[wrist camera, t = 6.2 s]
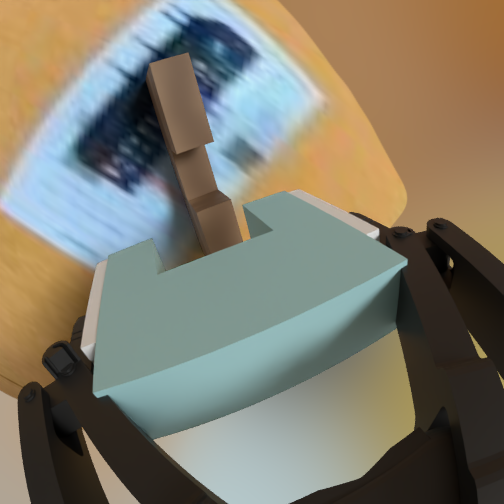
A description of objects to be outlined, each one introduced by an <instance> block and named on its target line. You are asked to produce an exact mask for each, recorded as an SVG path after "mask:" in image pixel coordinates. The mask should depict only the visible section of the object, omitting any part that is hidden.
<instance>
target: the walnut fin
mask: <svg viewBox="0 0 504 504" xmlns="http://www.w3.org/2000/svg"><path fill="white" fill-rule="evenodd" d="M146 82H147V86H148V89H149V92H150V96H151V99H152V102H153V106H154V109H155V112H156V116H157V119H158V122H159V125H160V128H161V132H162V135H163V138H164V141H165V144H166V147H167V150H168V153H169V156H170V159H171V162H172V165H173V168H174V171H175V174H176V177H177V180H178V183H179V186H180V189H181V192H182V195H183V198H184V200H185V203H186V206H187V209H188V212H189V215H190V217H191V220H192V223H193V226H194V229H195V231H196V234H197V237H198V239H199V242H200V245H201V248H202V250H203V253H204V254H205V256H207V255H210V254H212V253H215V252H218V251H220V250H223V249H226V248H228V247H231V246H234V245H236V244H239V243H241V242H243V240H242V236H241V233H240V229H239V226H238V223H237V219H236V216H235V212H234V209H233V205H232V202H231V199H229V198H228V197H227V196H226V195H224V194H223V193H222V192H221V191H219V190H218V188H217V185H216V182H215V178H214V175H213V172H212V169H211V165H210V162H209V159H208V155H207V152H206V148H205V144H208V143H211V142H214V140H213V137H212V133H211V130H210V126H209V123H208V119H207V116H206V112H205V109H204V105H203V102H202V98H201V95H200V91H199V88H198V84H197V81H196V77H195V74H194V70H193V67H192V63H191V60H190V56H189V53H185V54H181V55H177V56H174V57H170V58H167V59H163V60H160V61H157V62H153V63H150V64H149V68H148V72H147V77H146Z"/></svg>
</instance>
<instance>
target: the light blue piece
mask: <svg viewBox="0 0 504 504" xmlns="http://www.w3.org/2000/svg"><path fill="white" fill-rule="evenodd" d="M243 209H244V213H245V217H246V221H247V225H248V229H249V233H250V237H251V239H249V240H247V241H244V242H241V243H239V244H236V245H234V246H231V247H228V248H226V249H223V250H220V251H218V252H215V253H212V254H210V255H207V256H205V257H202V258H199V259H197V260H194V261H191V262H189V263H186V264H184V265H181V266H178V267H176V268H173V269H171V270H168V271H165V269H164V266H163V264H162V261H161V259H160V257H159V254H158V252H157V249H156V247H155V244H154V242H153V239H152V238H151V239H148V240H146V241H143V242H141V243H138V244H136V245H133V246H131V247H128V248H126V249H123V250H121V251H118V252H116V253H113V254H111V255H109V256H108V261H107V266H106V272H105V278H104V284H103V290H102V296H101V303H100V310H99V318H98V327H97V336H96V346H95V359H94V374H93V394H94V395H95V396H96V397H97V398H99V397H102V396H105V395H108V396H109V397H110V398H111V399H112V400H113V401H114V402H115V403H116V404H117V405H118V406H119V407H120V408H121V409H122V410H123V411H124V412H125V413H126V414H127V415H128V416H129V417H130V418H131V419H132V420H133V421H134V422H135V423H136V424H137V425H138V426H139V427H140V428H141V429H142V430H143V431H144V432H145V433H146V434H147V435H148V436H149V437H150V438H151V439H152V440H153V439H157V438H160V437H164V436H167V435H171V434H174V433H177V432H180V431H183V430H187V429H189V428H193V427H196V426H199V425H201V424H204V423H207V422H210V421H213V420H215V419H218V418H221V417H224V416H226V415H229V414H231V413H234V412H237V411H239V410H241V409H244V408H246V407H249V406H251V405H254V404H256V403H258V402H261V401H263V400H265V399H267V398H270V397H272V396H274V395H276V394H279V393H281V392H283V391H285V390H287V389H289V388H291V387H294V386H296V385H297V384H300V383H301V382H304V381H306V380H308V379H310V378H312V377H314V376H316V375H318V374H320V373H321V372H323V371H325V370H327V369H329V368H331V367H333V366H335V365H336V364H338V363H340V362H342V361H344V360H345V359H347V358H349V357H351V356H352V355H354V354H356V353H358V352H359V351H361V350H362V349H364V348H366V347H368V346H369V345H371V344H372V343H374V342H376V341H378V340H379V339H381V338H382V337H384V336H385V335H387V334H388V333H390V332H392V331H393V330H395V329H396V328H397V326H396V315H397V306H398V297H399V287H400V274H401V268H403V267H404V266H406V265H407V261H408V259H407V258H405V257H403V256H402V255H400V254H398V253H397V252H395V251H393V250H392V249H390V248H388V247H387V246H385V245H383V244H382V243H380V242H378V241H376V240H375V239H373V238H371V237H369V236H368V235H366V234H364V233H362V232H361V231H359V230H357V229H355V228H354V227H352V226H350V225H348V224H346V223H345V222H343V221H341V220H339V219H337V218H335V217H334V216H332V215H330V214H328V213H326V212H324V211H322V210H321V209H319V208H317V207H315V206H313V205H311V204H309V203H307V202H305V201H303V200H301V199H300V198H298V197H296V196H294V195H292V194H290V193H288V192H286V191H283V192H280V193H276V194H273V195H270V196H267V197H264V198H261V199H258V200H256V201H253V202H250V203H247V204H244V205H243Z"/></svg>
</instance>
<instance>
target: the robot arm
mask: <svg viewBox="0 0 504 504" xmlns="http://www.w3.org/2000/svg"><path fill="white" fill-rule="evenodd" d="M288 193H290V194H292V195H294V196H296V197H298V198H300V199H301V200H303V201H305V202H307V203H309V204H311V205H313V206H315V207H317V208H319V209H321V210H322V211H324V212H326V213H328V214H330V215H332V216H334V217H335V218H337V219H339V220H341V221H343V222H345V223H346V224H348V225H350V226H352V227H354V228H355V229H357V230H359V231H361V232H362V233H364V234H366V235H368V236H369V237H371V238H373V239H375V240H376V241H378V242H380V243H382V244H383V245H385V246H387V247H388V248H390V249H392V250H393V251H395V252H397V253H398V254H400V255H402V256H403V257H405V258H407V259H408V261H407V265H406V266H404V267H403V268H401V274H400V287H399V297H398V306H397V315H396V326H397V330H398V334H399V337H400V342H401V346H402V350H403V354H404V359H405V363H406V368H407V372H408V377H409V382H410V387H411V392H412V398H413V403H414V409H415V427H414V431H413V432H412V433H411V434H409V435H408V436H407V437H405V438H404V439H402V440H401V441H400V442H398V443H397V444H396V445H394V446H393V447H391V448H390V449H389V450H388V451H387V452H386V453H385V454H384V456H383V457H382V458H381V459H380V460H379V461H378V462H377V463H376V464H375V465H374V466H373V467H372V468H371V469H370V470H369V471H368V472H367V473H366V474H365V475H364V476H363V477H361V478H359V479H357V480H354V481H350V482H347V483H344V484H340V485H337V486H333V487H330V488H326V489H322V490H318V491H316V492H314V493H312V494H310V495H308V496H305V497H303V498H301V499H299V500H296V501H294V502H292V503H290V504H504V388H503V385H502V383H501V380H500V377H499V375H498V372H499V374H500V375H501V377H502V378H503V380H504V264H503V263H502V262H501V261H500V260H498V259H497V258H496V257H495V256H494V255H493V254H491V253H490V252H489V251H488V250H487V249H485V248H484V247H483V246H482V245H480V244H479V243H478V242H477V241H475V240H474V239H473V238H472V237H470V236H469V235H468V234H466V233H465V232H463V231H462V230H461V229H460V228H458V227H457V226H456V225H454V224H453V223H452V222H450V221H448V220H445V219H443V218H436V219H431V220H429V221H428V222H427V231H423V232H418V233H415V232H414V231H413V230H412V229H410V228H408V227H393V228H388V227H386V226H384V225H382V224H380V223H378V222H376V221H373V220H372V219H370V218H368V217H366V216H364V215H362V214H359V213H354V212H349V213H348V212H346V211H344V210H342V209H340V208H338V207H336V206H333V205H331V204H329V203H327V202H325V201H323V200H321V199H319V198H317V197H315V196H313V195H310V194H308V193H306V192H304V191H302V190H300V189H298V190H295V191H291V192H288ZM450 258H451V259H452V260H453V263H454V265H453V268H452V267H451V266H450V265H449V262H450ZM107 261H108V259H107V260H104V261H102V262H99V263H97V266H96V270H95V274H94V279H93V283H92V288H91V292H90V297H89V302H88V307H87V312H86V315H85V316H82V317H79V318H78V320H77V321H76V323H75V325H74V327H73V332H72V337H71V342H70V344H69V343H68V342H67V341H58V342H56V343H54V344H53V345H51V346H50V347H49V348H48V349H47V350H46V352H45V353H44V355H43V358H42V364H43V365H44V367H45V368H46V369H47V370H48V371H49V372H50V373H51V375H52V376H53V377H54V378H55V379H56V380H55V381H54V382H53V383H51V384H49V385H48V386H46V387H45V388H43V387H42V386H41V385H40V384H39V383H37V382H31V383H28V384H27V385H26V386H24V387H23V389H22V390H21V391H20V394H19V396H18V420H19V433H20V443H21V452H22V459H23V465H24V472H25V477H26V483H27V488H28V492H29V497H30V501H31V504H109V502H108V500H107V498H106V495H105V493H104V490H103V488H102V486H101V483H100V481H99V478H98V476H97V473H96V470H95V468H94V465H93V462H92V460H91V457H90V454H89V451H88V448H87V444H86V441H85V438H84V435H83V432H82V428H81V427H83V429H84V430H85V432H86V433H87V435H88V436H89V438H90V439H91V441H92V442H93V444H94V445H95V447H96V448H97V450H98V451H99V453H100V454H101V455H102V457H103V458H104V460H105V461H106V462H107V464H108V465H109V466H110V468H111V469H112V470H113V472H114V473H115V474H116V475H117V477H118V478H119V479H120V480H121V482H122V483H123V484H124V485H125V486H126V488H127V489H128V490H129V491H130V492H131V494H132V495H133V496H134V497H135V498H136V499H137V500H138V502H139V503H140V504H227V503H226V502H225V501H224V500H222V499H221V498H219V497H218V496H217V495H215V494H214V493H213V492H212V491H210V490H209V489H207V488H206V487H205V486H204V485H203V484H201V483H200V482H199V481H198V480H196V479H195V478H194V477H193V476H192V475H190V474H189V473H188V472H187V471H186V470H185V469H183V468H182V467H181V466H180V465H179V464H178V463H177V462H176V461H174V460H173V459H172V458H171V457H170V456H169V455H168V454H167V453H166V452H165V451H164V450H163V449H162V448H160V446H159V445H157V444H156V443H155V442H154V441H153V440H152V439H151V438H150V437H149V436H148V435H147V434H146V433H145V432H144V431H143V430H142V429H141V428H140V427H139V426H138V425H137V424H136V423H135V422H134V421H133V420H132V419H131V418H130V417H129V416H128V415H127V414H126V413H125V412H124V411H123V410H122V409H121V408H120V407H119V406H118V405H117V404H116V403H115V402H114V401H113V400H112V399H111V398H110V397H109V396H108V395H105V396H102V397H99V398H97V397H96V396H95V395H94V394H93V374H94V359H95V346H96V336H97V327H98V318H99V310H100V303H101V296H102V290H103V284H104V278H105V272H106V266H107ZM468 331H469V332H470V333H471V335H472V336H473V337H474V339H475V340H476V341H477V342H478V344H479V345H480V347H481V348H482V349H483V351H484V352H485V354H486V355H487V358H483V359H482V358H480V357H479V356H478V354H477V351H476V349H475V346H474V344H473V341H472V339H471V337H470V334H469V332H468ZM497 371H498V372H497Z"/></svg>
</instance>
